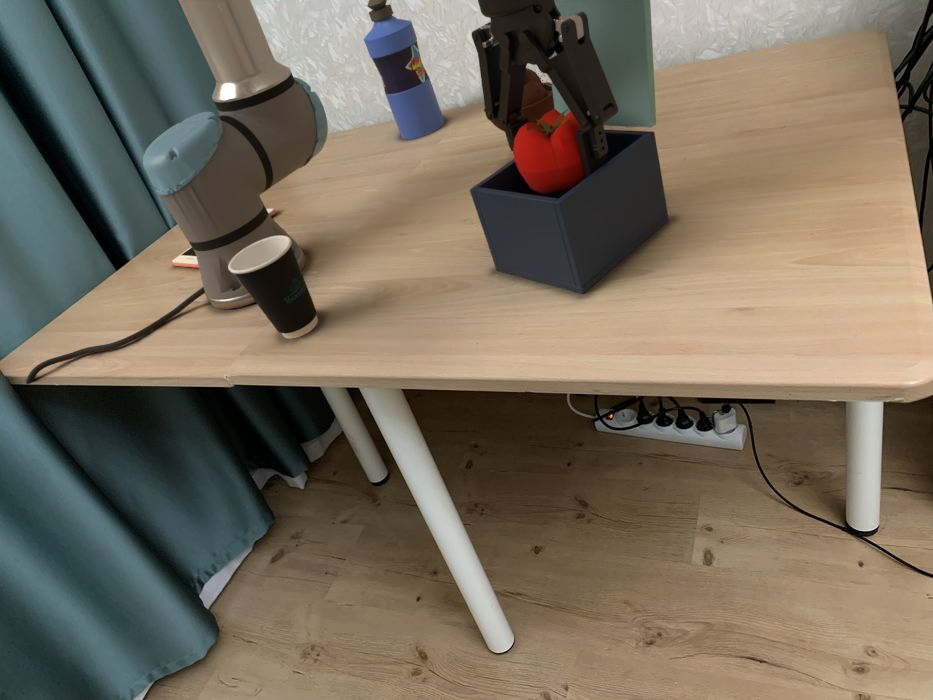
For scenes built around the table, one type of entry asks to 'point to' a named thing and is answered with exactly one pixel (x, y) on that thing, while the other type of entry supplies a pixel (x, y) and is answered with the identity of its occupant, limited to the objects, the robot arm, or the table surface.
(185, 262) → the cell phone
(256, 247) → the dixie cup
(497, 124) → the ice cream bowl
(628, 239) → the chest
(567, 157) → the tomato
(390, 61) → the water bottle
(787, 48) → the table surface
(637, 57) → the chest lid
